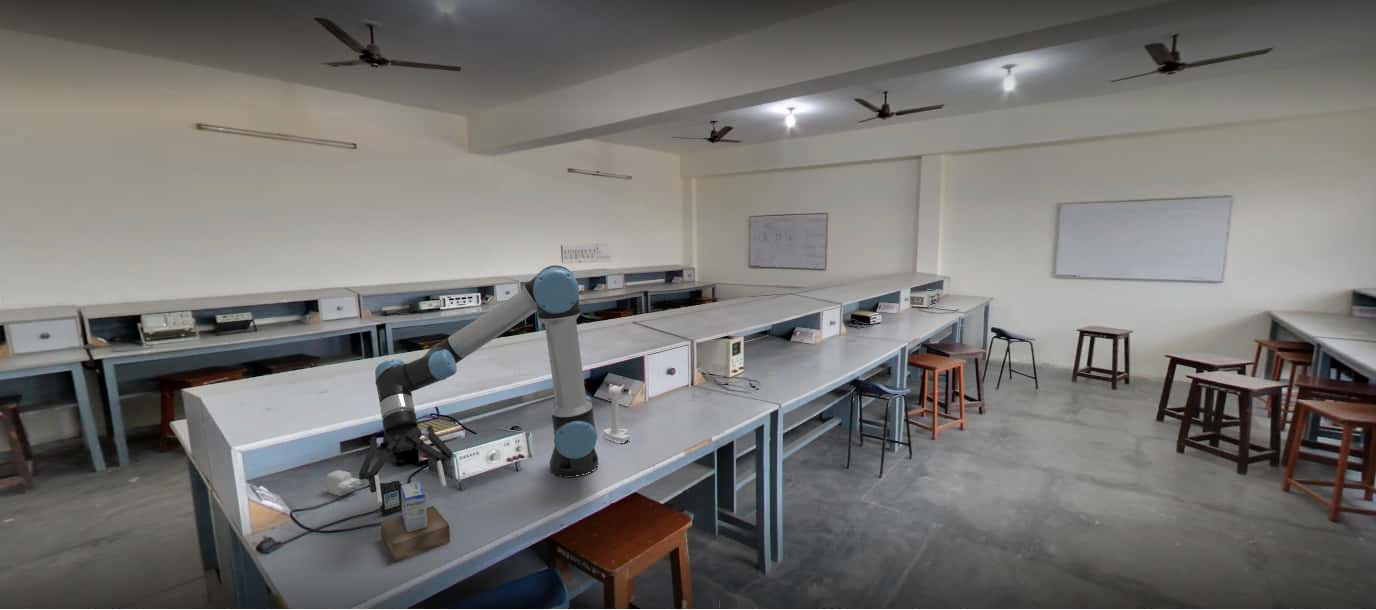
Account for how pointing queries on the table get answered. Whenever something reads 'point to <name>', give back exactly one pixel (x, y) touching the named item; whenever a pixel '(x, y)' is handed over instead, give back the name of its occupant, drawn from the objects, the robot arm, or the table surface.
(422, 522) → the medicine box
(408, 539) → the walnut block
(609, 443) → the table surface
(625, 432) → the joystick
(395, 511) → the ink cartridge
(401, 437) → the robot arm
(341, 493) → the power adapter
